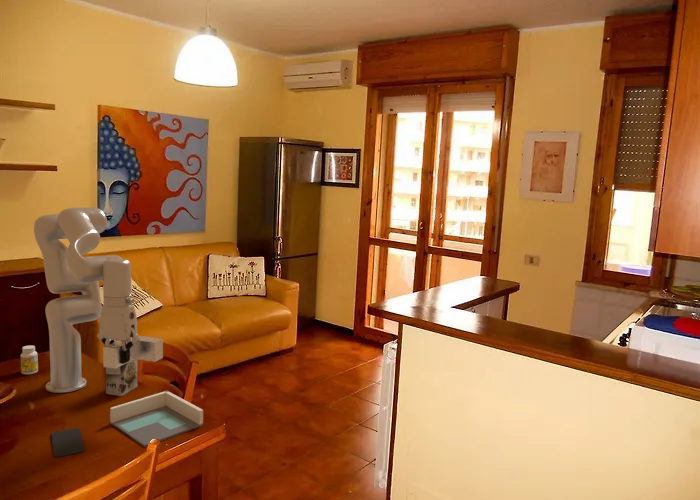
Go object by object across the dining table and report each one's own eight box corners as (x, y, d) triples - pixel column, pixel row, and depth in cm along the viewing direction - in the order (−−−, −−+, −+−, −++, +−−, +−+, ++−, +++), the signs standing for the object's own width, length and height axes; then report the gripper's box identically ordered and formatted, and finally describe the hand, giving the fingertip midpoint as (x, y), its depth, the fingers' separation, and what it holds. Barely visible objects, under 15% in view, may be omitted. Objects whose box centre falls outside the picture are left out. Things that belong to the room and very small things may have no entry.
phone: (54, 457, 142) (50, 432, 155) (54, 460, 142) (50, 435, 155) (85, 451, 146) (79, 427, 159) (85, 453, 146) (79, 429, 159)
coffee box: (122, 396, 182) (122, 350, 180) (105, 394, 184) (105, 348, 181) (138, 386, 191) (138, 342, 189) (122, 384, 192) (121, 340, 190)
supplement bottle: (41, 371, 201) (40, 346, 199) (28, 375, 196) (27, 350, 195) (31, 368, 203) (30, 343, 201) (17, 373, 198) (16, 347, 197)
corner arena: (110, 423, 163) (110, 407, 162) (167, 405, 178) (167, 390, 177) (144, 447, 150) (144, 430, 150) (202, 425, 165) (203, 409, 164)
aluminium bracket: (132, 353, 170) (131, 335, 169) (162, 357, 167) (162, 338, 166) (103, 366, 157) (103, 346, 156) (136, 371, 154) (135, 351, 154)
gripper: (150, 301, 160) (150, 360, 162) (102, 296, 164) (103, 354, 166) (134, 306, 152) (134, 369, 155) (84, 301, 157) (85, 361, 159)
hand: (118, 360), depth 160 cm, fingers closed on aluminium bracket, 4 cm apart
